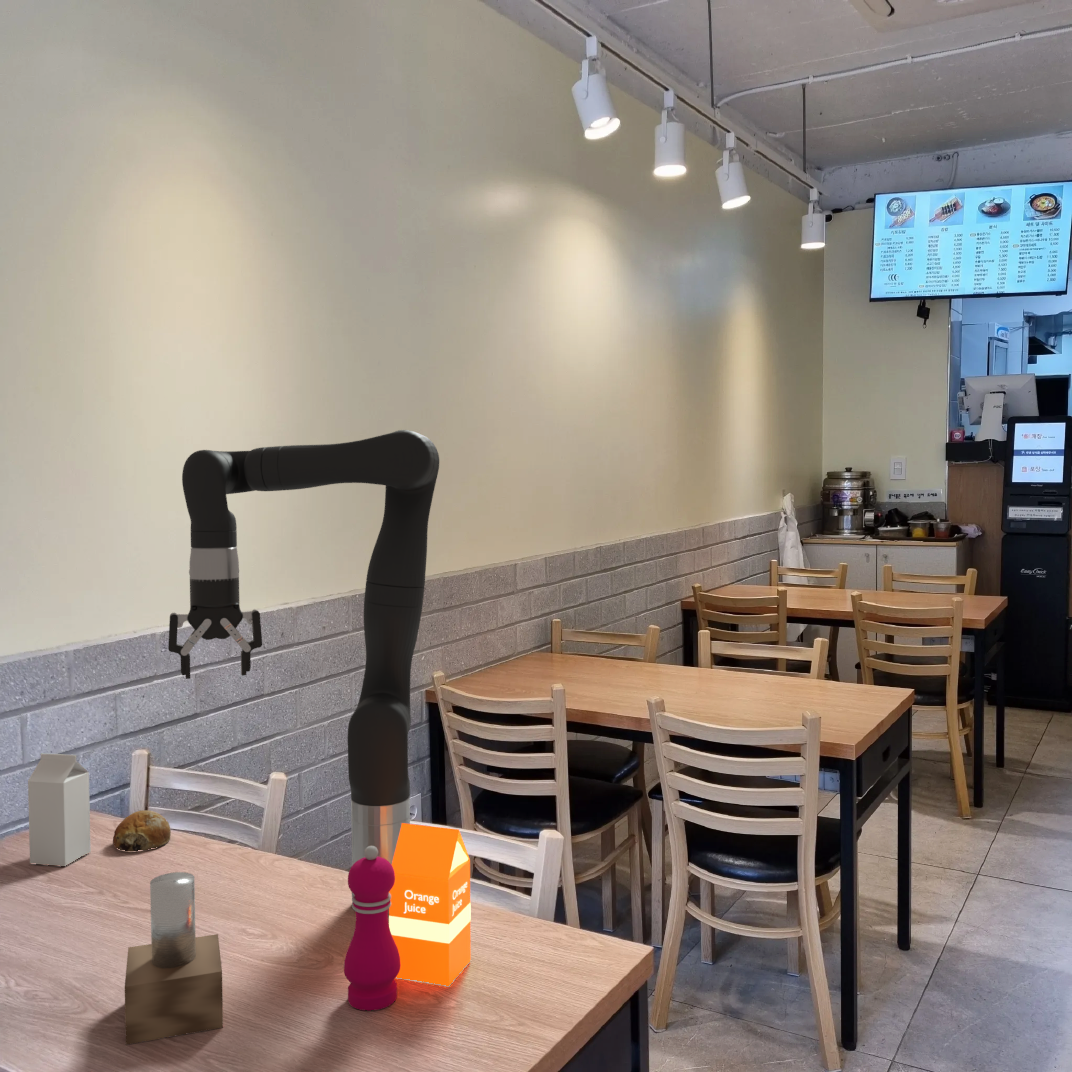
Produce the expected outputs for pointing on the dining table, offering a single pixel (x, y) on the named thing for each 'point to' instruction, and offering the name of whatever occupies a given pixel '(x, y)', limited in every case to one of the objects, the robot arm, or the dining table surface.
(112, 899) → the dining table surface
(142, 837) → the bread roll
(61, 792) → the milk carton
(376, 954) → the pepper mill
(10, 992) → the dining table surface
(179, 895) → the shiny metal cylinder
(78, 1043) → the dining table surface
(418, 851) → the orange juice
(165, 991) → the walnut block
